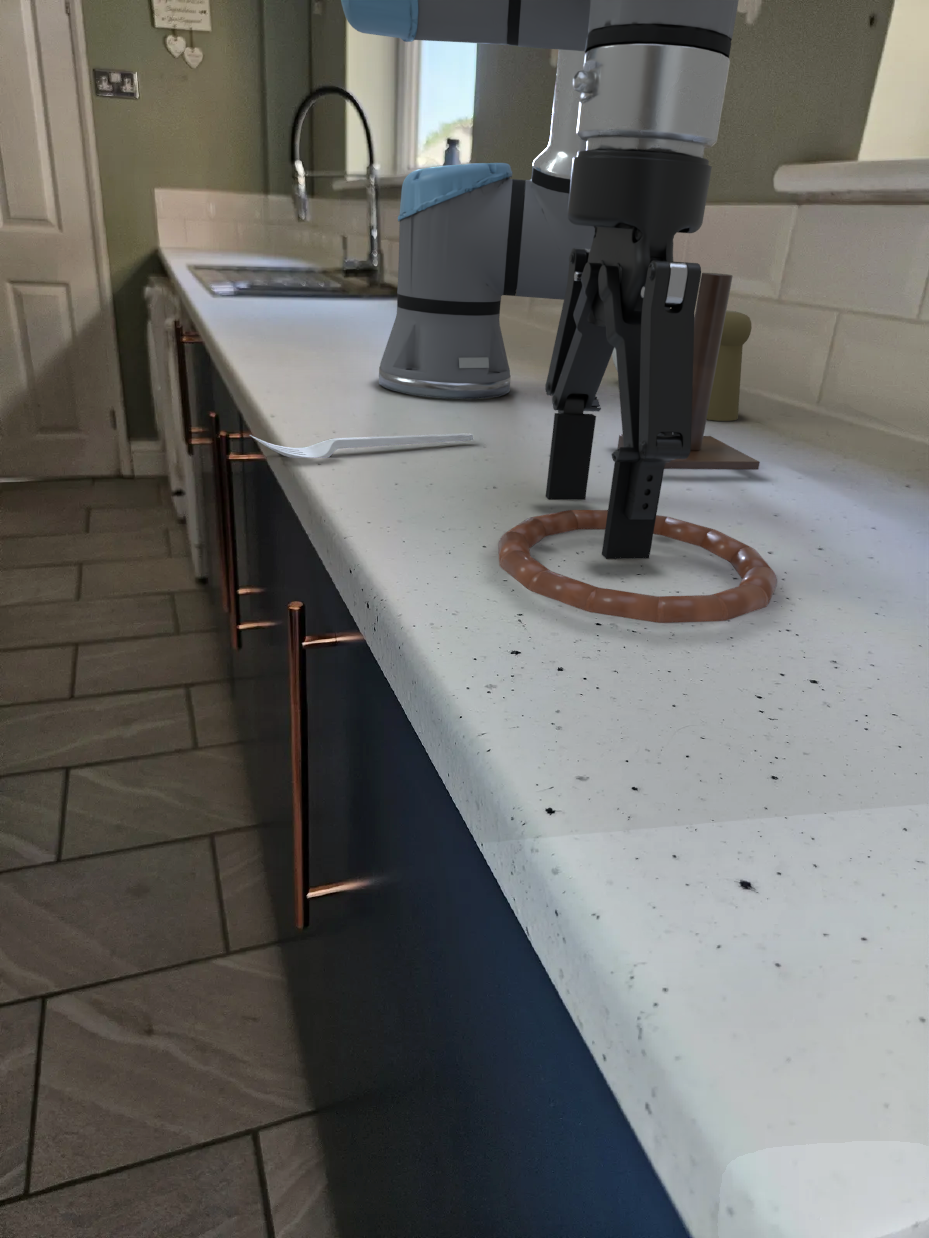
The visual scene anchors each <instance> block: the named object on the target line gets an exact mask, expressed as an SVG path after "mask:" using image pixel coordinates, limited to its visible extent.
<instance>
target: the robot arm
mask: <svg viewBox="0 0 929 1238" xmlns="http://www.w3.org/2000/svg"><path fill="white" fill-rule="evenodd" d="M739 1H740V0H340V2H341V7H342V10H343V14H344V17H345V19H346V21H347V22H348V24H349V25H350V26H351V27H352V29H354V30H355V31H357V32H359V33H361V34H367V35H375V36H381V37H388V38H396V39H401V40H402V41H403V42H405V43H412V42H414V41H425V42H426V41H429V42H446V43H447V42H448V43H464V44H466V43H467V44H481V45H482V44H484V45H499V46H500V45H501V46H502V45H503V46H507V45H508V46H513V47H518V48H532V49H545V50H546V49H548V50H558V53H557V65H556V75H555V85H554V94H553V103H552V113H551V114H552V115H551V124H550V135H549V141H548V144H547V146H546V148H544V149H543V151H541V152H540V153H539V154H538V155H537V156H536V157H535V158H534V159H533V161H532V168H531V178H530V179H515V178H513V171H512V168H511V165H510V164H509V163H506V162H490V163H489V162H479V163H463V164H451V165H450V164H449V165H439V166H431V167H424V168H419V169H415V170H413V171H411V172H409V173H408V174H407V175H406V176H405V178H404V180H403V182H402V184H401V194H400V207H399V214H398V216H397V222H398V223H399V231H398V232H399V235H398V270H397V293H396V294H397V297H396V298H397V299H396V315H395V319H394V322H393V325H392V328H391V331H390V334H389V336H388V339H387V343H386V346H385V348H384V351H383V354H382V357H381V360H380V363H379V366H378V367H379V369H378V383H379V385H380V386H381V387H383V388H385V389H388V390H389V391H393V392H396V393H397V392H398V393H402V394H405V395H411V396H417V397H424V398H425V397H426V398H435V399H447V400H449V399H450V400H478V399H480V400H481V399H490V398H499V397H501V396H504V395H507V394H508V393H510V389H511V376H512V375H511V370H510V365H509V361H508V357H507V352H506V347H505V342H504V338H503V333H502V329H501V323H500V317H501V316H500V315H501V304H502V303H501V302H502V297H503V296H509V297H521V298H534V299H535V298H536V299H547V300H548V299H549V300H560V301H561V300H563V303H562V307H561V311H560V315H559V321H558V326H557V330H556V336H555V339H554V345H553V350H552V355H551V359H550V364H549V369H548V372H547V373H548V374H547V377H546V382H545V388H544V389H545V393H546V395H547V396H551V397H552V400H551V405H552V409H553V410H554V411H557V412H554V415H553V424H552V425H553V426H552V434H551V443H550V452H549V462H548V470H547V471H548V472H547V481H546V488H545V498H546V499H547V500H549V501H551V500H553V501H554V500H555V501H557V500H558V501H559V500H560V501H565V500H567V501H568V500H569V501H573V500H576V501H577V500H579V501H583V500H584V501H585V500H586V497H587V488H588V483H589V482H588V481H589V475H590V474H589V473H590V466H591V458H592V450H593V443H594V435H595V427H596V421H597V416H596V414H593V413H585V412H600V411H601V410H602V408H601V404H600V402H599V399H598V396H597V393H598V390H599V388H600V386H601V384H602V380H603V378H604V376H605V373H606V370H607V368H608V365H609V363H610V360H611V357H612V352H613V350H614V347H615V349H616V356H617V369H618V372H617V380H618V381H617V382H618V392H619V404H620V405H619V406H620V418H621V431H622V432H621V433H622V434H623V445H624V447H619V449H615V450H614V451H613V452H612V453H611V458H612V461H613V462H614V464H613V471H612V472H613V473H612V479H611V485H610V494H609V501H608V507H607V510H608V513H607V520H606V527H605V529H604V535H603V543H602V549H601V556H602V557H603V558H604V559H605V560H628V559H629V560H637V559H650V555H651V550H652V543H653V538H654V534H653V532H654V526H655V520H656V515H657V513H658V508H659V503H660V495H661V492H662V491H661V489H662V483H663V479H664V473H665V472H664V471H665V469H664V467H665V464H666V462H670V461H671V460H675V459H687V458H688V456H689V454H690V450H691V424H692V387H693V350H694V317H695V311H696V305H697V299H698V293H699V287H700V282H701V276H702V268H701V265H700V264H699V263H698V262H688V261H687V262H686V261H674V238H675V236H676V234H677V233H679V234H694V233H697V232H698V231H699V230H700V229H701V227H702V226H703V223H704V217H705V210H706V206H707V205H706V204H707V198H708V193H709V187H710V181H711V174H712V170H713V169H712V166H711V165H709V164H710V161H709V159H707V158H705V157H704V154H705V149H711V148H712V147H713V146H714V145H715V144H717V142H718V137H719V131H720V124H721V118H722V112H723V106H724V101H725V94H726V89H727V83H728V76H729V70H730V64H731V60H730V53H731V49H732V40H733V35H734V31H735V30H734V29H735V24H736V17H737V13H738V5H739Z"/></svg>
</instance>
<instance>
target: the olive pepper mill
mask: <svg viewBox="0 0 929 1238" xmlns="http://www.w3.org/2000/svg"><path fill="white" fill-rule="evenodd" d="M752 326H753V325H752V320H751V318H750V316H748V315H747V314H745V313H742V312H739V311H736V310H729V309H727V310H726V315H725V321H724V326H723V332H722V337H721V343H720V348H719V354H718V359H717V365H716V370H715V375H714V381H713V386H712V392H711V397H710V403H709V408H708V414H707V419H706V421H707V420H708V421H717V422H731V421H736V420H738V419H739V409H740V408H739V407H740V392H741V376H742V363H743V362H742V361H743V346H744V344H745V343H747V342H748V340H749V338H750V335H751V332H752Z"/></svg>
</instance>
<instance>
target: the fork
mask: <svg viewBox="0 0 929 1238" xmlns="http://www.w3.org/2000/svg"><path fill="white" fill-rule="evenodd" d="M249 436H250V437H251V438H252V439H254V440H255V441H257V442H259V444H261V445H263V446H265V447H266V448H268V449H269V450H272V451H273V452H275V453H277V454H279V455H281V456H284V457H287V458H291V459H292V458H293V459H294V458H297V459H298V458H299V459H301V458H302V459H304V458H305V459H310V458H311V459H328V458H330V456H332V455H333V453H334V452H335V451H337V450H340V449H355V448H357V449H358V448H371V447H386V446H401V445H417V444H420V445H421V444H434V443H448V442H449V443H451V442H466V441H474V435H473V434H472V433H469V432H465V433H464V432H463V433H461V432H460V433H438V434H412V435H411V434H410V435H386V436H357V437H334V438H330V439H326V440H323V441H320V442H317V443H313V444H311V445H309V446H305V447H288V446H282V445H278V444H273V443H270V442H268V441H265V440H263V439H260V438H257V437H255V436H253V435H252V434H249Z"/></svg>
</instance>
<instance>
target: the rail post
mask: <svg viewBox="0 0 929 1238" xmlns="http://www.w3.org/2000/svg"><path fill="white" fill-rule="evenodd" d="M732 282H733V274H727V273H718V272H701V278H700V284H699V289H698V295H697V301H696V306H695V312H694V350H693V387H692V424H691V450H690V454H689V456H688V458H687V459H675V460H671V461H670V462H666V464H665V467H664V470H666V469H667V470H675V469H676V470H759V468H760V463H761V462H760V461H759V460H757V459H756V458H753V457H752V456H750V455H748V454H746V453H744V452H742V451H740V450H738V449H736V448H734V447H732V446H730V445H729V444H726V443H725V442H723V441H721V440H719V439H717V438H715V437H714V436H711V435H705V430H706V424H707V414H708V408H709V403H710V397H711V392H712V386H713V381H714V375H715V370H716V365H717V359H718V354H719V348H720V343H721V337H722V332H723V326H724V321H725V315H726V310H728V303H729V299H730V293H731V287H732ZM619 447H624V445H623V433H622V434H621V433H620V434H618V442H617V449H619ZM617 449H616V450H617Z"/></svg>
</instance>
